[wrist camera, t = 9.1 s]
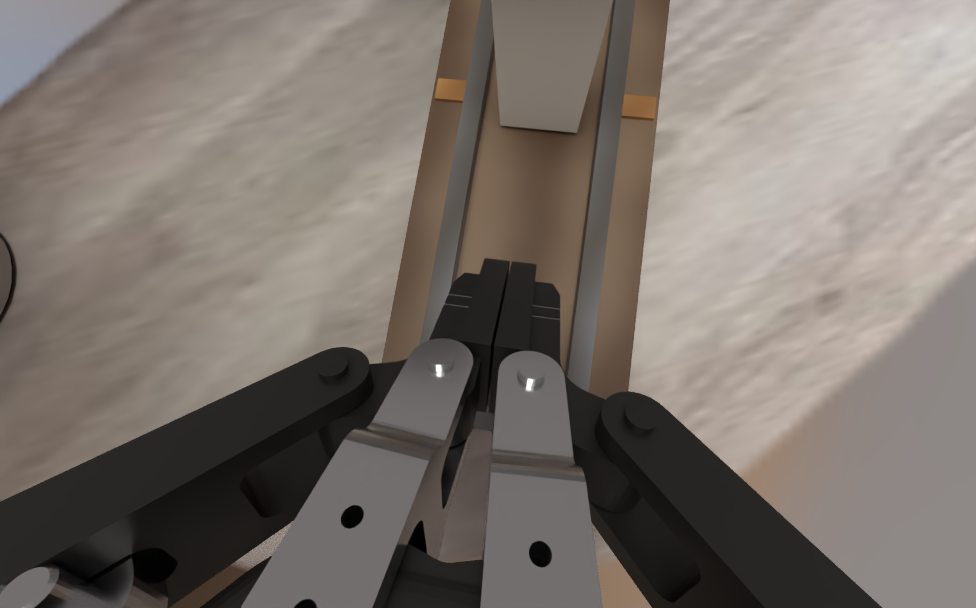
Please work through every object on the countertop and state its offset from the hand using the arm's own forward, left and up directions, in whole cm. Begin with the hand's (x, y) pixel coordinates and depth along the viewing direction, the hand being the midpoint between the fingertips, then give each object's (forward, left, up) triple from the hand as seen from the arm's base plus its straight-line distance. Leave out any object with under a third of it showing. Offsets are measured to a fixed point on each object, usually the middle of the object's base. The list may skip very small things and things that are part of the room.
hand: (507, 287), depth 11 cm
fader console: (0, +7, -10) cm, 12 cm away
